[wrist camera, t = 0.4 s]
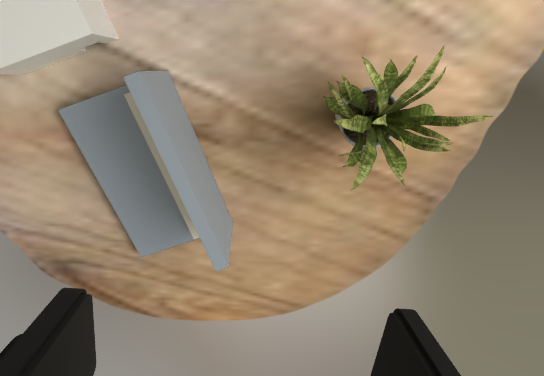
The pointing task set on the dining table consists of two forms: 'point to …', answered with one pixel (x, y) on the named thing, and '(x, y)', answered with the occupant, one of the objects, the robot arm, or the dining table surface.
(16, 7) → the cream rectangular block
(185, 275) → the dining table surface
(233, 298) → the dining table surface
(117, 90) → the cleat board
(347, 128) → the house plant
